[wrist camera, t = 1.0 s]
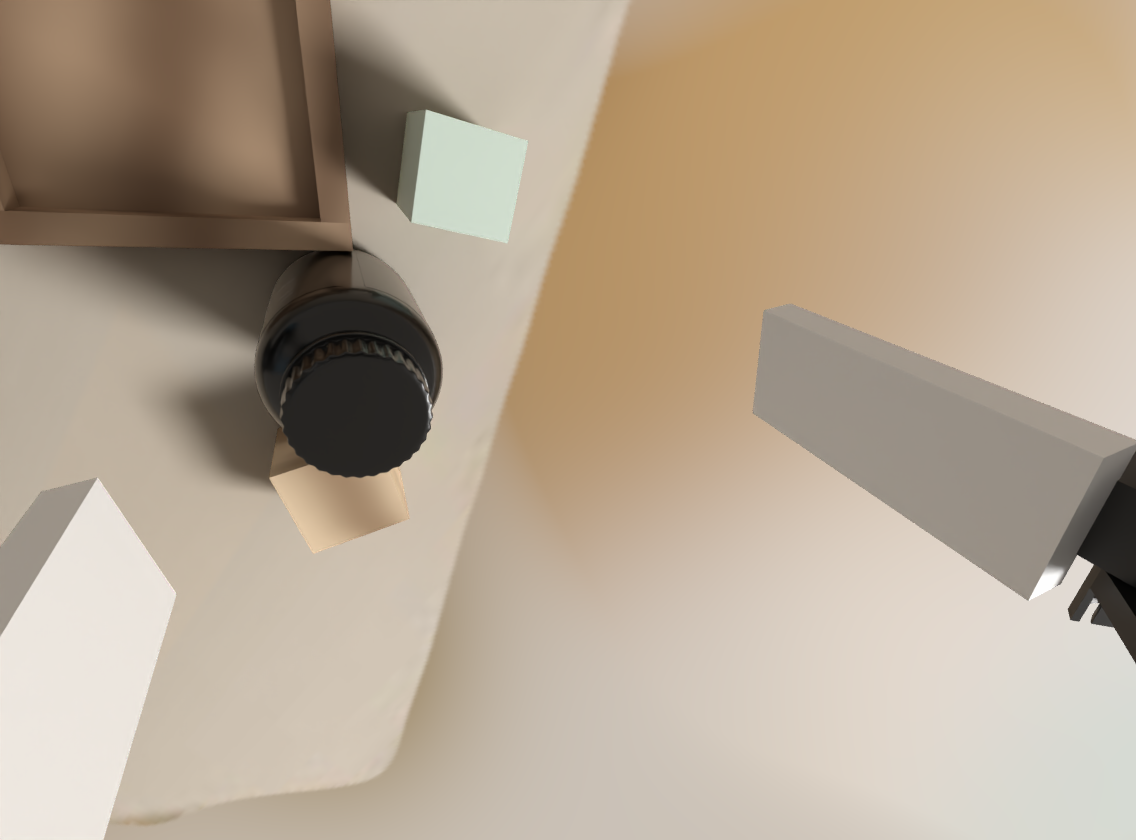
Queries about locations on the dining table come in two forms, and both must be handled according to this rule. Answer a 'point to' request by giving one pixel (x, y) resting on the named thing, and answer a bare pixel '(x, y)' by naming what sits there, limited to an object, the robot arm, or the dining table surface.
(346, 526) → the oak block
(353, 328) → the supplement bottle
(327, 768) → the dining table surface
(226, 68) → the walnut tray
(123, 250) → the dining table surface
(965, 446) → the robot arm
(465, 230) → the sage cube
